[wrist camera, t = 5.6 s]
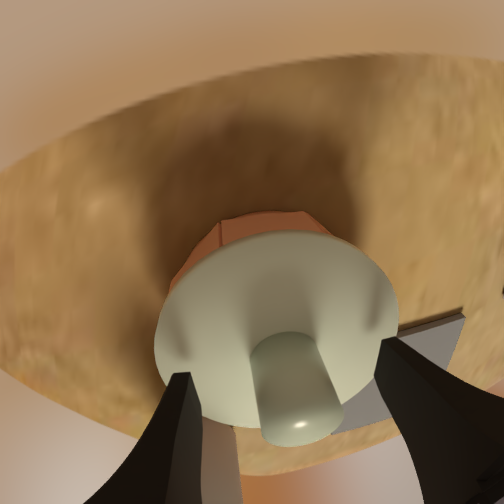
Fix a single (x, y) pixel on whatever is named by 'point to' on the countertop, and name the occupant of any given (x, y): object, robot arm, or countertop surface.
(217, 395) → the lid
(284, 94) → the countertop surface
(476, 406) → the robot arm
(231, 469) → the beverage can
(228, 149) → the countertop surface
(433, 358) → the mat
